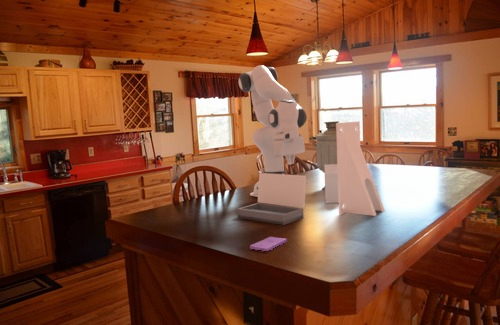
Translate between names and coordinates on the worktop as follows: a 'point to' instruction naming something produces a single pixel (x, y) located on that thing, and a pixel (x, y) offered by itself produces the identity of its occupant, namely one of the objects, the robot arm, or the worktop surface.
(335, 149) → the samovar
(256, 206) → the shallow grey box
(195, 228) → the worktop surface
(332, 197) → the milk carton
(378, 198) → the white bracket plate
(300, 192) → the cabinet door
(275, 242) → the sponges
